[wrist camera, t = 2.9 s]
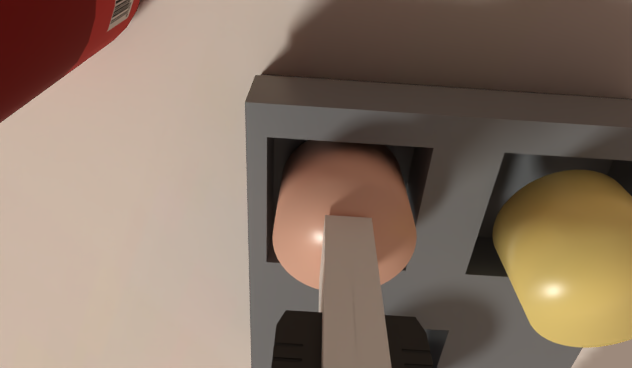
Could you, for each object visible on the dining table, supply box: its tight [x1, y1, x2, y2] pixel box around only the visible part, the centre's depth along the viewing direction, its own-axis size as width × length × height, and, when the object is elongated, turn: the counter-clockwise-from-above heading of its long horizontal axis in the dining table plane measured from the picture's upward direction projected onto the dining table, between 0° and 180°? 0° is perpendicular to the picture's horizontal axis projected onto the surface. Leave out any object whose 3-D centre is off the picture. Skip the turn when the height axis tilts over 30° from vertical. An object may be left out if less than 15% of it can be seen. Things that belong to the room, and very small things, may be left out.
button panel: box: [245, 74, 632, 368], centre depth 21 cm, size 16×15×4 cm
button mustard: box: [492, 170, 632, 347], centre depth 15 cm, size 5×5×4 cm
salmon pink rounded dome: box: [272, 140, 417, 290], centre depth 17 cm, size 5×5×4 cm
